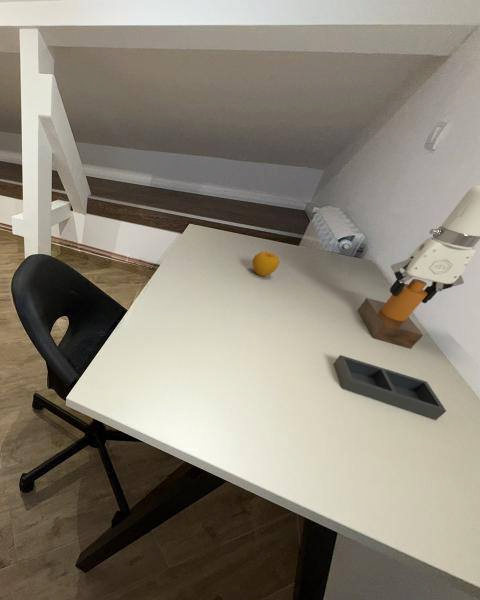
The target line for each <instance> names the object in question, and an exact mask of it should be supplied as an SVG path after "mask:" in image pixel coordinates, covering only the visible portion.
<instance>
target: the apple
mask: <svg viewBox="0 0 480 600" xmlns="http://www.w3.org/2000/svg"><path fill="white" fill-rule="evenodd" d="M251 262H252V268H253V271H254V272H255V274H256V275H257V276H260V277H264V278H265V277H266V278H267V277H268V276H270V275H271V274H273V273H275V271H276V270H277V269H278V267H279V265H280V258H279V257H278V256H277V255H276V254H275V253H273V252H270V251H261V252H258V253H257V254H255V255H254V257H253V258H252V261H251Z"/></svg>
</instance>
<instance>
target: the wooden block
mask: <svg viewBox="0 0 480 600" xmlns="http://www.w3.org/2000/svg"><path fill="white" fill-rule="evenodd" d="M385 303H386V301H381V300H377V299H374V298H369V297H366V298H365V300H364V301H363V302H362V304H361V305H360V306H359V308H358V309H357V312H358V314H359V316H360V318H361V319H362V321H363V323H364V325H365V326H366V328H367V330H368V332H369V334H370V335H371V337H372V339H375V340H378V341H382V342H386V343H390V344H393V345H396V346H399V347H404V348H406V349H412V348H413V347H414V346H415V345H416V344H417V343H418V341H419V340H421V338H422V337H423V336H424V334H423V332H421V330H420V329H419V328H418V327H417V325H416V324H415V322H414V321H413V320H412V319H411V317H410V316H409V317H408V318H407V319H406V320H405V321H398V320H394V319H391V318H389V317H387V316H385V315H384V314H382V313H381V311H380V310H381V308H382V307H383V306H384V304H385Z"/></svg>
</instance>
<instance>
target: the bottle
mask: <svg viewBox="0 0 480 600" xmlns="http://www.w3.org/2000/svg"><path fill="white" fill-rule="evenodd" d="M404 284H405V286H404V288H403V289H402V290H401V291H400V293H399V294H398V295H397V296H393V295H392V294H391V295H390V297H389V298H388V299H387V300H386V301H385V304H384V306H383V307H382V308H381V310H380V311H381V313H382V314H384V315H385V316H387V317H389V318H391V319H394V320H398V321H405V320H406V319H407V318H408V317H409V318H410V316H411V315H412V313H413V312H414V311H415V310H416V309H417V308H418V306H419V305H420V304H421V303H422V300H423V299H424V298H425V297H426V296H427V294H428V293H427V292H426V291H424V290H425V288H426V287H427V284H428V283H427V282H425V280H422V279H419V278H412V279H411V281H410V282H409V283H404Z"/></svg>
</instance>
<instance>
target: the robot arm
mask: <svg viewBox="0 0 480 600" xmlns="http://www.w3.org/2000/svg"><path fill="white" fill-rule="evenodd" d="M428 232H429V233H428V234H429V235H432V236H428V238H426V239H425V240H424V241H423V242H422V243H420V245H418V247H416V249H415V250H414V251H413V252H412V253H411V254H410V255H409V257H407V259H405V260H401V261H399V262H395V263H392V264H391V265H390V268H391V270H392V272H393V275H394V276H395V281H394V282H393V284H392V285H391V286H390V288H389V292H390V293H391V295H393V296H397V295H398V294H399V293H400V291H401V290H402V289H403V288H404V286H405V284H406V283H407V282H408V281H409V280H412V279H413V278H415V279H419V280H424V281H429V282H431V285H428V286H425V288H424V289H423V290H424V291H426V292H427V293H428V294H427V296H426V297H425V298H424V299H423V300H422V301H421V303H423V304H427V303H428V302H429V301H430V300H432V299H433V297H434V296H436V294H437V293H440V292H442V291H443V290H446V289H450V288H452V287H456V286H460V285H463V284H464V283H465V282H464V279H463V276H462V274H463V273H464V271H465V270H466V269H467V267H468V266H469V264H470V263H471V261H472V260H473V257H474V255H475V254H476V251H477V248H475V246H476V244H478V242H479V241H480V185H475V186H472V187H471V188H470V189H469V190H468V191H467V192H466V193H465V194H464V195H463V197H462V198H461V200H460V201H459V202H458V203H457V204H456V206H455V207H454V208H453V210H452V211H451V212H450V214H449V215H448V217H446V219H445V220H444V221H443V222H442V224H441V225H440V226H438V228H431V229H430V230H429V231H428ZM401 269H403V270H404V271H401Z"/></svg>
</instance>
